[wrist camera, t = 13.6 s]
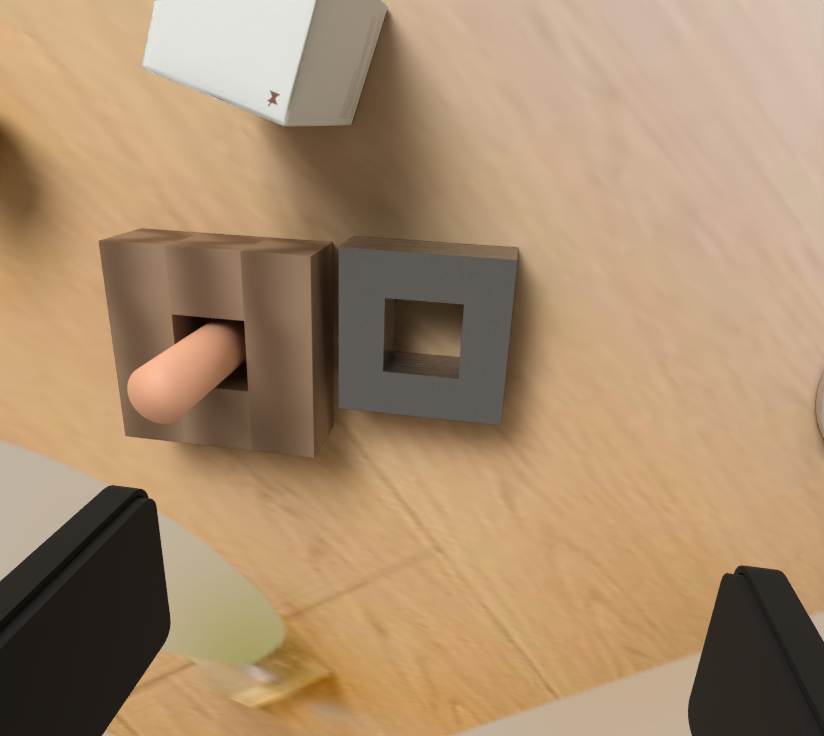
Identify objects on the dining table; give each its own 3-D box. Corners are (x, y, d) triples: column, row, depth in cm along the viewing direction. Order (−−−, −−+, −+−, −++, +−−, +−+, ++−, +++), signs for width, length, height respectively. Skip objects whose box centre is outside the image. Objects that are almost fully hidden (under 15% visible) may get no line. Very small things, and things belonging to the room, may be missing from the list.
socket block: (332, 242, 44) (310, 256, 39) (333, 426, 49) (313, 457, 45) (141, 228, 46) (98, 240, 41) (161, 407, 51) (125, 436, 46)
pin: (264, 309, 47) (184, 368, 36) (266, 355, 48) (189, 426, 37) (216, 305, 47) (123, 362, 36) (220, 351, 48) (131, 420, 37)
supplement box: (391, 4, 38) (335, -45, 27) (351, 129, 41) (285, 133, 30) (277, -43, 38) (171, -114, 27) (245, 84, 41) (136, 71, 30)
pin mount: (517, 247, 42) (517, 260, 39) (502, 400, 46) (500, 425, 43) (353, 236, 44) (338, 247, 40) (352, 385, 48) (338, 408, 44)
